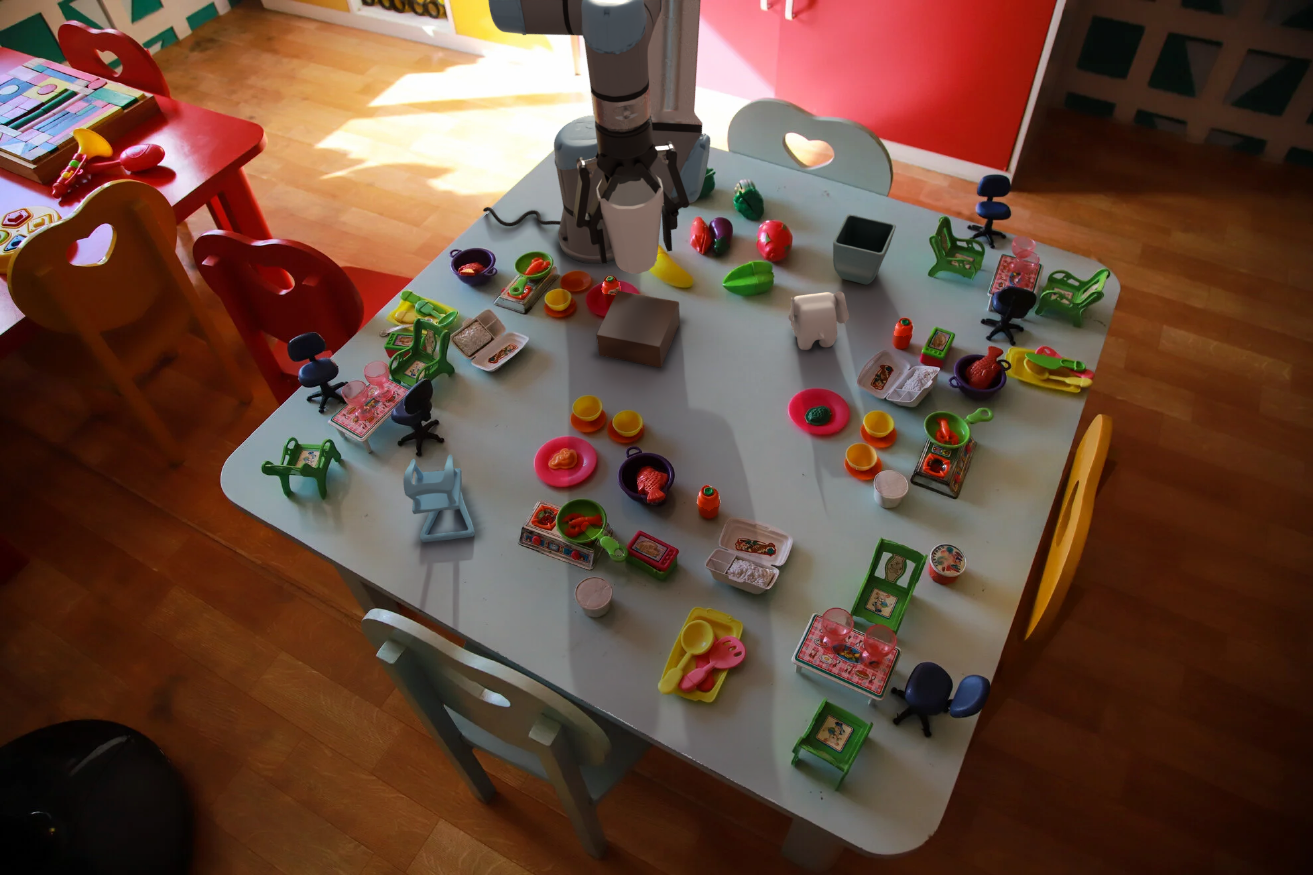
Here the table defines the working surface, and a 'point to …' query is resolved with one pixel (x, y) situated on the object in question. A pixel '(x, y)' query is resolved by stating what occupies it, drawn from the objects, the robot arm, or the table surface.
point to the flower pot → (861, 248)
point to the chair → (437, 497)
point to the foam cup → (633, 224)
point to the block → (638, 328)
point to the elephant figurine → (817, 318)
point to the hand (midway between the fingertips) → (635, 251)
